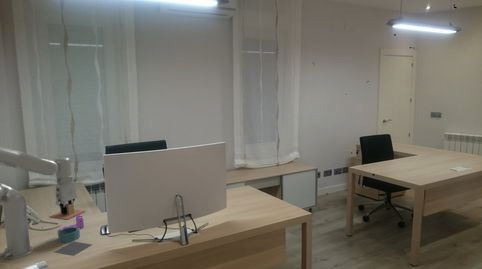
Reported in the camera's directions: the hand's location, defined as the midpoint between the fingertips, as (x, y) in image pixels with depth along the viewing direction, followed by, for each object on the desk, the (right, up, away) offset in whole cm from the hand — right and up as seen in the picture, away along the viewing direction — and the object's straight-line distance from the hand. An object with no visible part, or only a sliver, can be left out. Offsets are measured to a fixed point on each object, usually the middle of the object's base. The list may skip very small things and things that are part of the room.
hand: (67, 212), depth 186 cm
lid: (0, -2, 0) cm, 2 cm away
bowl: (0, -15, +2) cm, 16 cm away
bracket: (-6, -14, +17) cm, 23 cm away
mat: (+9, -17, -11) cm, 22 cm away
